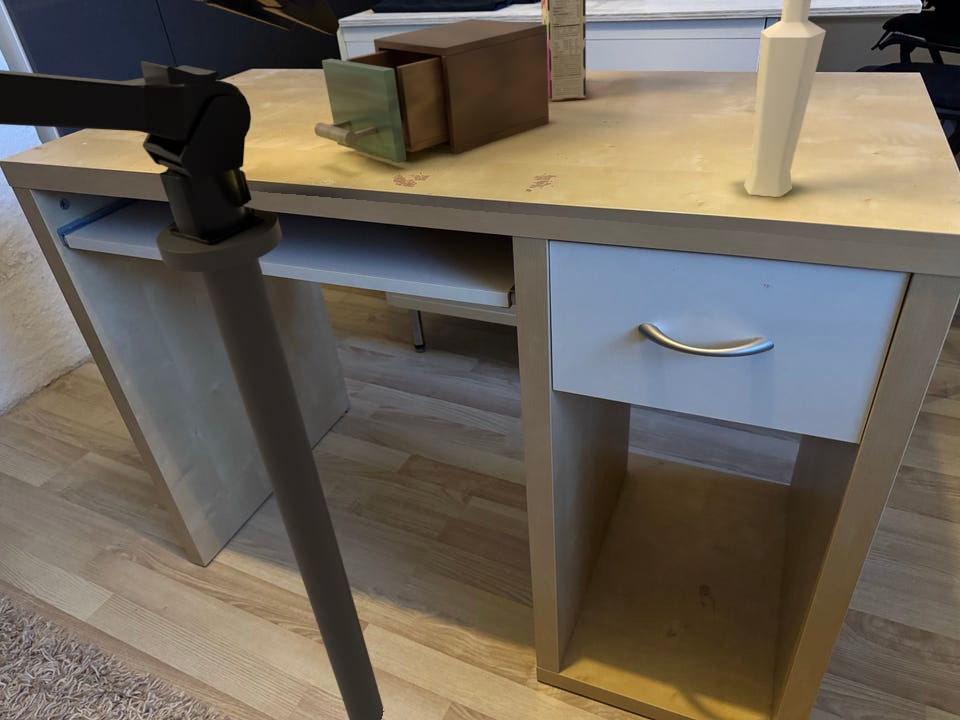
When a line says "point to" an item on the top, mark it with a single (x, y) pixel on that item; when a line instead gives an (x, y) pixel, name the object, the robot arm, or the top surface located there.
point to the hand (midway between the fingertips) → (314, 28)
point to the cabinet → (485, 77)
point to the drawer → (386, 103)
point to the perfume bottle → (782, 96)
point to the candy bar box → (565, 48)
